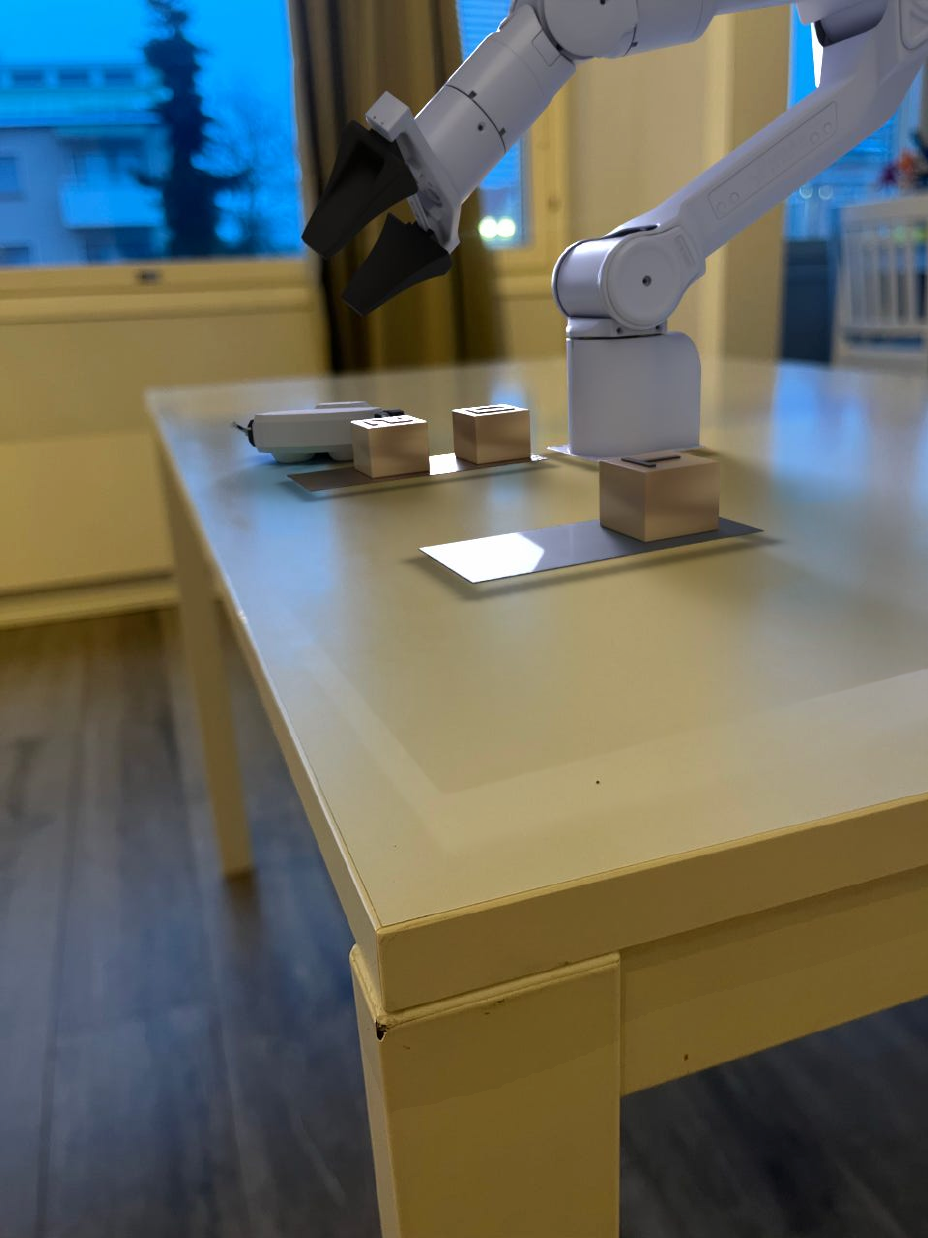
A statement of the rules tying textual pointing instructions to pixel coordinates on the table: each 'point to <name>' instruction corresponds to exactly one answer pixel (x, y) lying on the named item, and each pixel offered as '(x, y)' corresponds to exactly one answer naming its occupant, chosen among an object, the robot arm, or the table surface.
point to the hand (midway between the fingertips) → (333, 279)
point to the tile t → (659, 495)
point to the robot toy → (311, 430)
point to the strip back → (354, 477)
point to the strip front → (557, 549)
